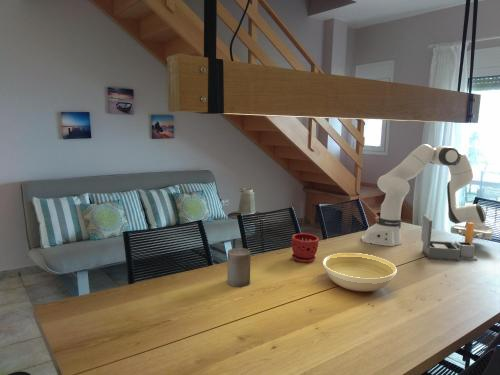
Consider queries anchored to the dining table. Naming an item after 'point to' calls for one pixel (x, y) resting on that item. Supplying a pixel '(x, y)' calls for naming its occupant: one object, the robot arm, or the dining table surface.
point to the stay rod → (469, 232)
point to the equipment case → (437, 245)
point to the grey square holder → (466, 250)
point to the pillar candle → (239, 267)
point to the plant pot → (304, 247)
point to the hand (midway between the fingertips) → (468, 234)
